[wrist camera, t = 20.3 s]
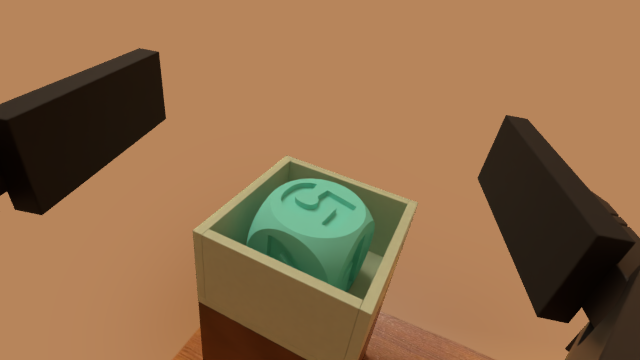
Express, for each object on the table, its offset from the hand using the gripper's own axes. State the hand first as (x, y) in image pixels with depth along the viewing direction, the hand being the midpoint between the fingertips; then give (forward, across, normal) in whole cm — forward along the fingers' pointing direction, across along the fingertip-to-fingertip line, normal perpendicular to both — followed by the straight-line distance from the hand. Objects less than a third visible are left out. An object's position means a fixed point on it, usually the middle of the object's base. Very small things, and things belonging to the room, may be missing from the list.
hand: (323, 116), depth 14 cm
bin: (+10, 0, -20) cm, 23 cm away
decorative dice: (+10, 0, -20) cm, 22 cm away
